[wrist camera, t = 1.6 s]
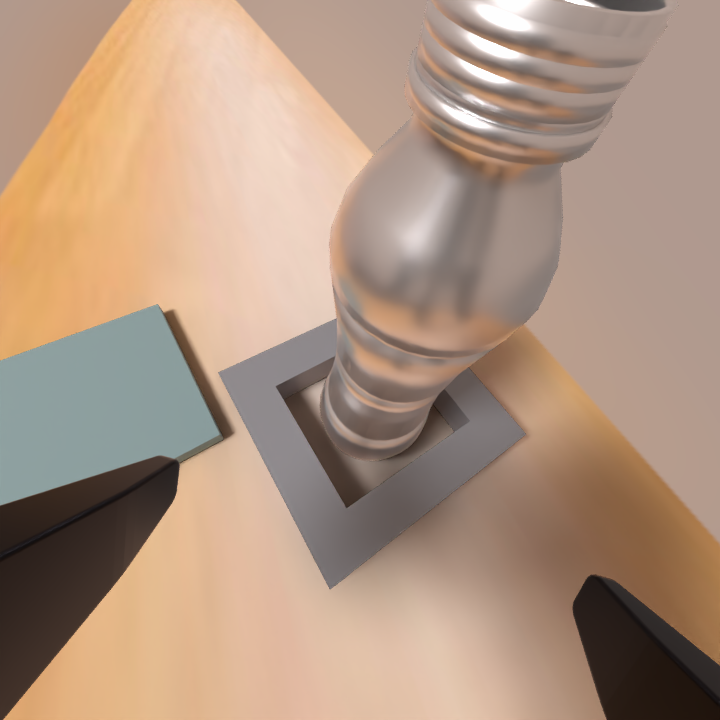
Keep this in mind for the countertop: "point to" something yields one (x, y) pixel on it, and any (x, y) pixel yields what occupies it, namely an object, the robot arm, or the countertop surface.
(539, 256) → the plastic bottle
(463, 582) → the countertop surface
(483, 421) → the pocket holder
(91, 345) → the coaster
